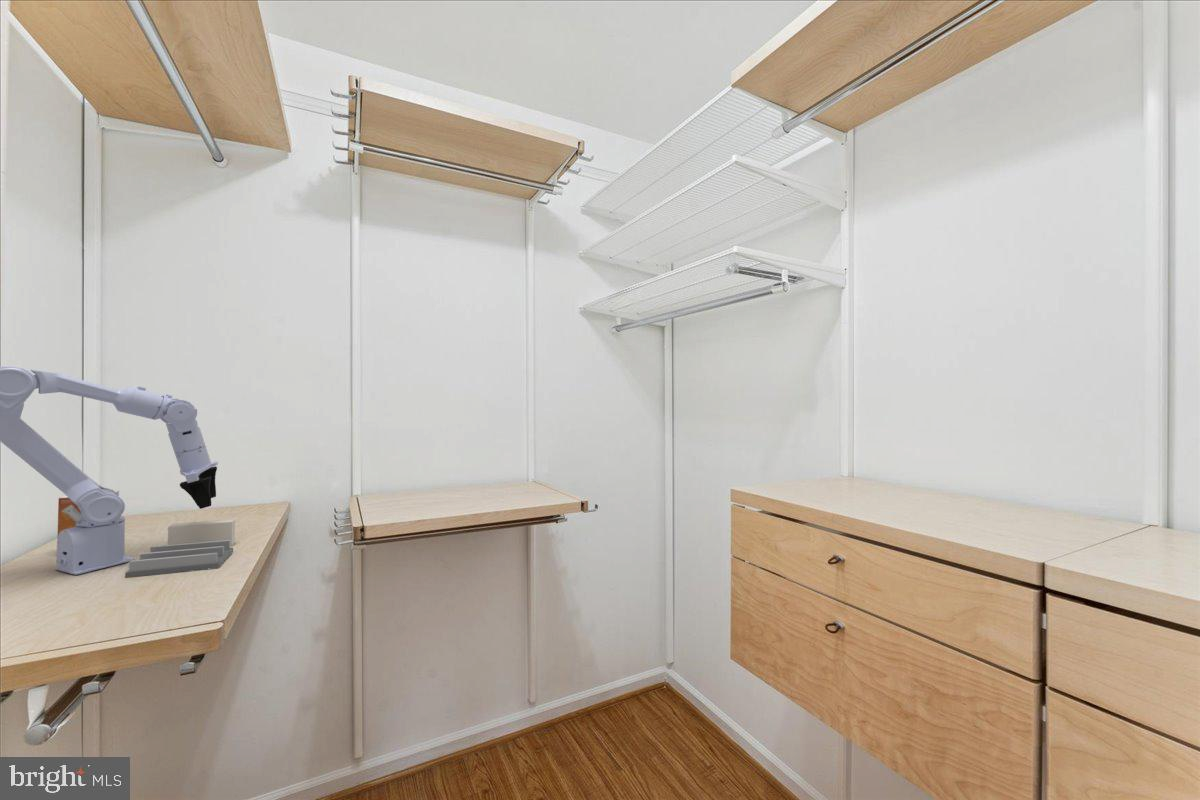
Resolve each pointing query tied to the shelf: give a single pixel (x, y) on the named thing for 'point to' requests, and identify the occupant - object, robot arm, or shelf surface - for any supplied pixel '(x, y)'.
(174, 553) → the ridged grey tray
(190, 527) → the long beige block
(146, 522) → the shelf surface
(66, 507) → the small box
